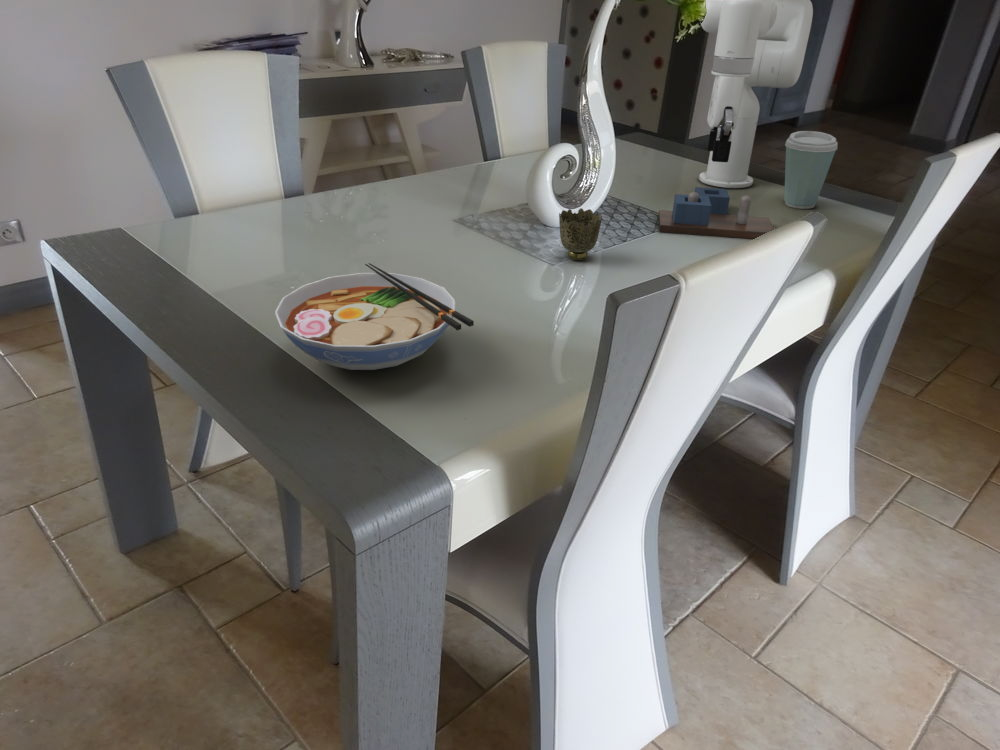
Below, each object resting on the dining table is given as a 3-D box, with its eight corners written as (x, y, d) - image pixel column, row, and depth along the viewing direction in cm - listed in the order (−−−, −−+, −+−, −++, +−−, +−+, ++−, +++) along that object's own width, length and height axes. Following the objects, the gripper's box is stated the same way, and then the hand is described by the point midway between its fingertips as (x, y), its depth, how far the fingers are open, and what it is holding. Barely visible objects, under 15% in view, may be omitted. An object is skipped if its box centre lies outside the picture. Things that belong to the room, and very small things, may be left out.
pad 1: (672, 213, 152) (675, 193, 150) (705, 215, 151) (708, 196, 149) (673, 223, 146) (676, 203, 144) (708, 225, 145) (711, 205, 143)
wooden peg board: (658, 216, 155) (662, 183, 151) (767, 224, 152) (774, 190, 148) (659, 232, 146) (664, 197, 142) (775, 240, 143) (783, 205, 140)
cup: (561, 266, 129) (564, 221, 125) (552, 251, 135) (554, 208, 131) (603, 265, 130) (607, 220, 126) (592, 250, 136) (595, 207, 132)
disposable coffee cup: (828, 213, 159) (846, 142, 152) (776, 210, 161) (791, 139, 153) (818, 200, 168) (834, 131, 161) (769, 196, 170) (783, 128, 162)
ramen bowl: (253, 341, 101) (244, 285, 97) (401, 304, 113) (399, 253, 109) (329, 426, 84) (322, 362, 80) (495, 372, 96) (496, 314, 92)
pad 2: (692, 205, 162) (695, 186, 160) (723, 207, 162) (726, 189, 160) (694, 214, 157) (697, 195, 155) (726, 216, 156) (730, 197, 154)
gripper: (708, 60, 152) (695, 146, 161) (716, 71, 137) (701, 164, 146) (746, 62, 151) (731, 148, 160) (758, 73, 137) (741, 167, 145)
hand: (717, 156), depth 153 cm, fingers open, 9 cm apart
